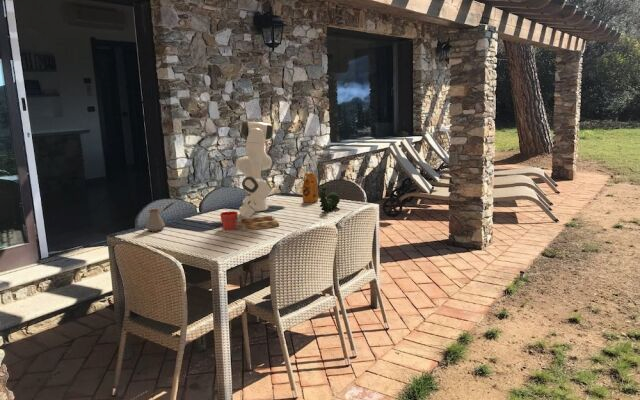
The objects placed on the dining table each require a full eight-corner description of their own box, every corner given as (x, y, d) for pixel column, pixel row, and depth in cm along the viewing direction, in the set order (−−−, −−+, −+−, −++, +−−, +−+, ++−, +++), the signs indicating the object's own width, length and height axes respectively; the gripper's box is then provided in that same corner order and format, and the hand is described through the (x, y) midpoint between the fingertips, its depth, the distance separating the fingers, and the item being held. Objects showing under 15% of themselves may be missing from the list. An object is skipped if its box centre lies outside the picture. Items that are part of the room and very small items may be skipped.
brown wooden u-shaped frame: (274, 220, 324) (273, 215, 323) (279, 226, 308) (278, 220, 307) (241, 223, 318) (240, 218, 318) (244, 230, 302) (243, 224, 302)
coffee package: (300, 202, 377) (299, 173, 373) (309, 199, 388) (307, 171, 383) (311, 203, 372) (310, 174, 368) (320, 200, 383) (318, 171, 378)
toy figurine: (329, 215, 336) (344, 205, 358) (327, 188, 331) (342, 179, 353) (317, 215, 341) (332, 204, 362) (314, 188, 335) (330, 179, 357)
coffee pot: (153, 233, 304) (151, 209, 301) (142, 231, 311) (139, 207, 308) (181, 225, 321) (179, 202, 318) (170, 223, 328) (168, 201, 325)
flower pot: (242, 226, 311) (240, 211, 309) (233, 231, 301) (232, 215, 299) (227, 225, 315) (225, 210, 313) (218, 230, 305) (216, 214, 303)
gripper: (246, 197, 318) (232, 214, 317) (250, 203, 299) (235, 220, 298) (253, 203, 320) (239, 220, 319) (258, 209, 301) (243, 227, 300)
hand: (237, 220), depth 309 cm, fingers closed
